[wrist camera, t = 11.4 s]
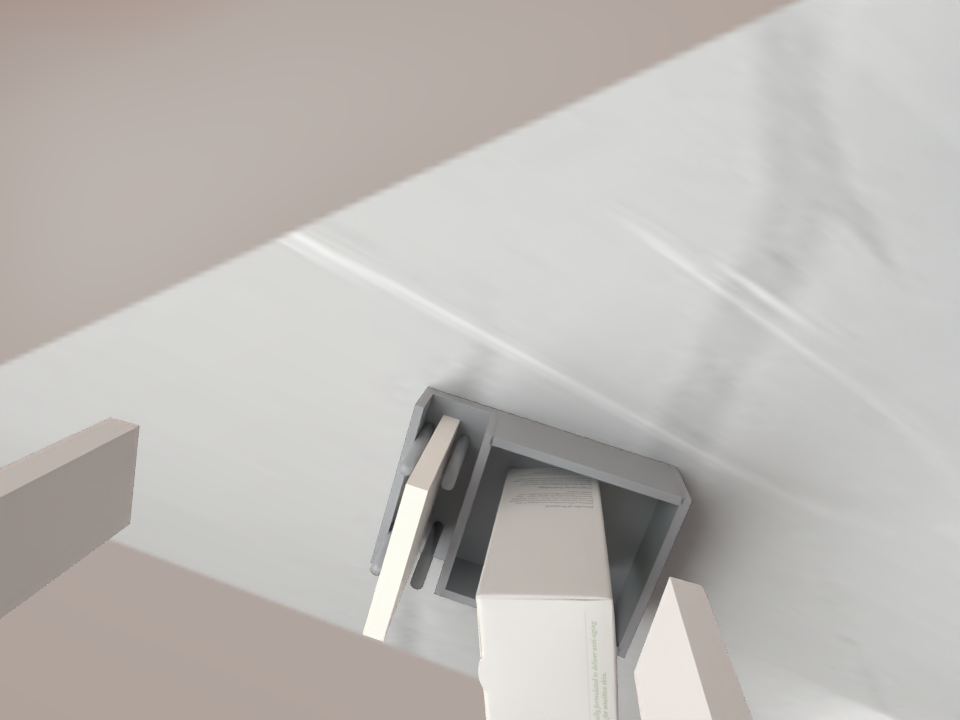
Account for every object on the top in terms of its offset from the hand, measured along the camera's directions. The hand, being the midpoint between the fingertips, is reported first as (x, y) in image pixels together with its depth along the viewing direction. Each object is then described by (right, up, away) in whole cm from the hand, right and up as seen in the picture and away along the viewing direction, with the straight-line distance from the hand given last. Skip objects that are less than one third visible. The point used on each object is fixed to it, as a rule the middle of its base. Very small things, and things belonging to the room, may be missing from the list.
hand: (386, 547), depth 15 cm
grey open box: (+5, -6, +29) cm, 31 cm away
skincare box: (+7, -6, +29) cm, 30 cm away
